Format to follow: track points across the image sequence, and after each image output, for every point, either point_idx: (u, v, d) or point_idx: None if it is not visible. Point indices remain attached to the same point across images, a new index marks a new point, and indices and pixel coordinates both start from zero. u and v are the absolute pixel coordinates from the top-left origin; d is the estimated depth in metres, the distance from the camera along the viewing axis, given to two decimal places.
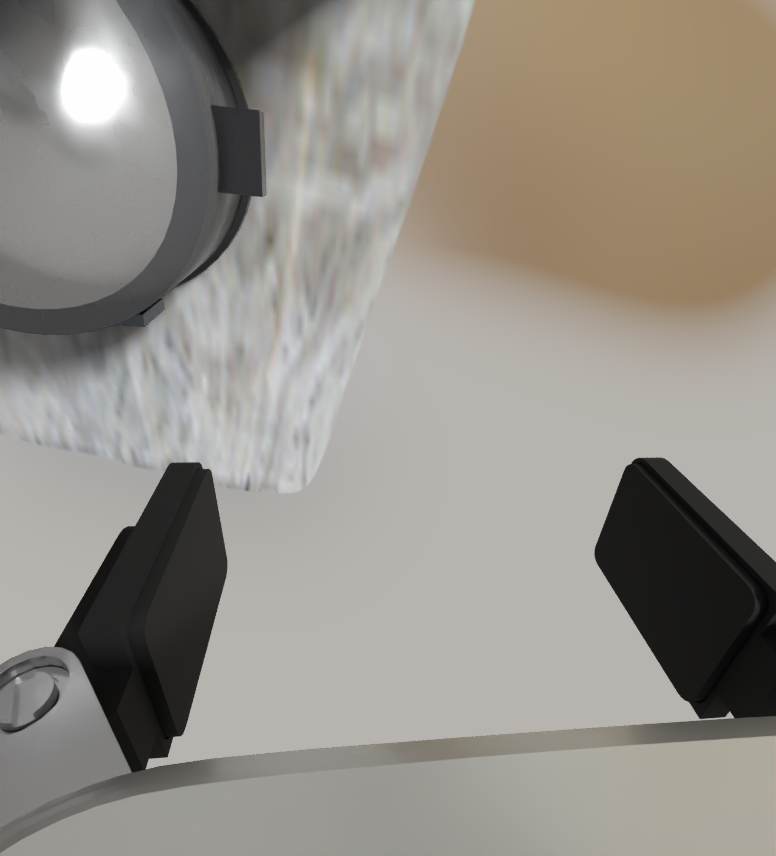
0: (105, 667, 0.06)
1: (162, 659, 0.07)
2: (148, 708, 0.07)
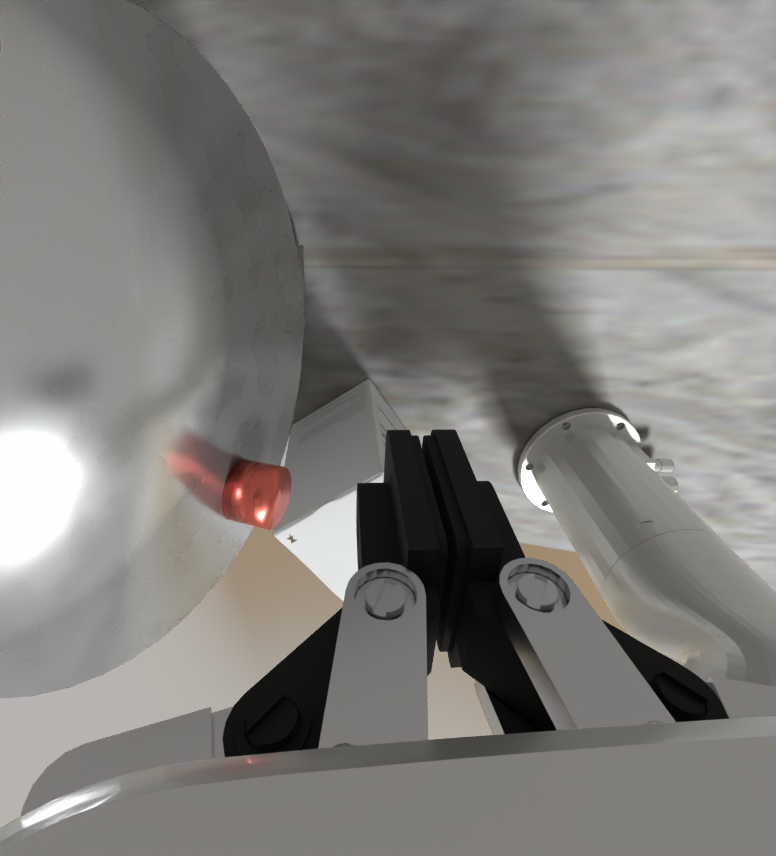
0: None
1: None
2: None
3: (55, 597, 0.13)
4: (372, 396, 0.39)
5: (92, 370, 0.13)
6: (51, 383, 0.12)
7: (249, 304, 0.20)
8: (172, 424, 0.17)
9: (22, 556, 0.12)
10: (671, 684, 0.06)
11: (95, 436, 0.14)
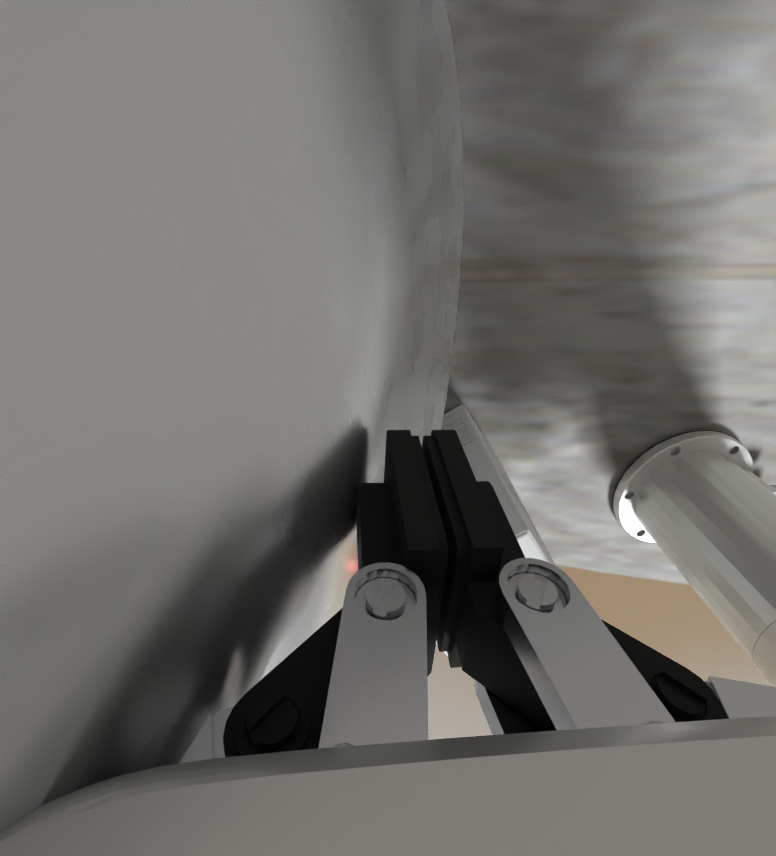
0: None
1: None
2: None
3: None
4: (474, 426, 0.35)
5: (324, 493, 0.09)
6: (291, 533, 0.07)
7: (429, 350, 0.16)
8: None
9: None
10: (671, 684, 0.06)
11: (316, 584, 0.09)
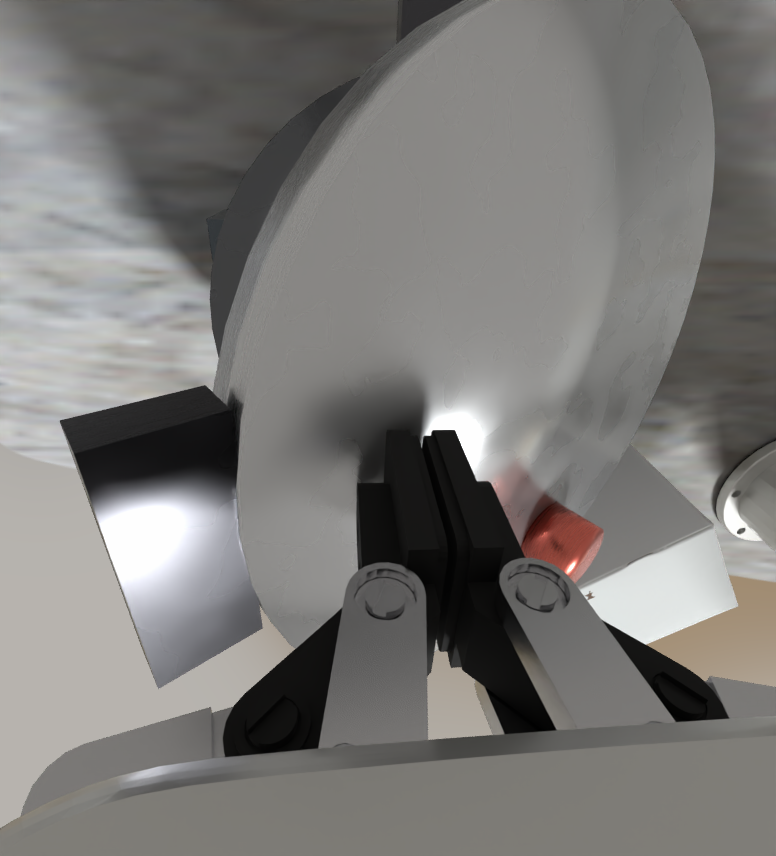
0: None
1: None
2: None
3: None
4: None
5: (479, 389, 0.13)
6: (447, 396, 0.12)
7: (627, 339, 0.18)
8: (515, 454, 0.16)
9: None
10: (671, 684, 0.06)
11: None
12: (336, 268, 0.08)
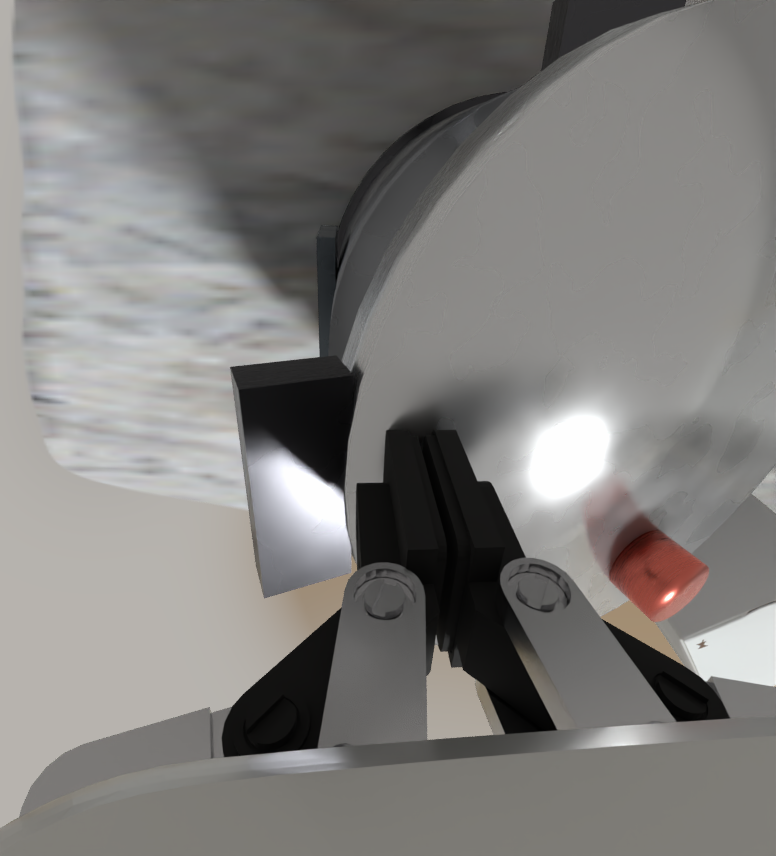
0: None
1: None
2: None
3: None
4: None
5: (581, 393, 0.13)
6: (547, 395, 0.13)
7: (763, 367, 0.16)
8: (615, 467, 0.16)
9: None
10: (672, 684, 0.06)
11: (552, 453, 0.14)
12: (456, 265, 0.10)
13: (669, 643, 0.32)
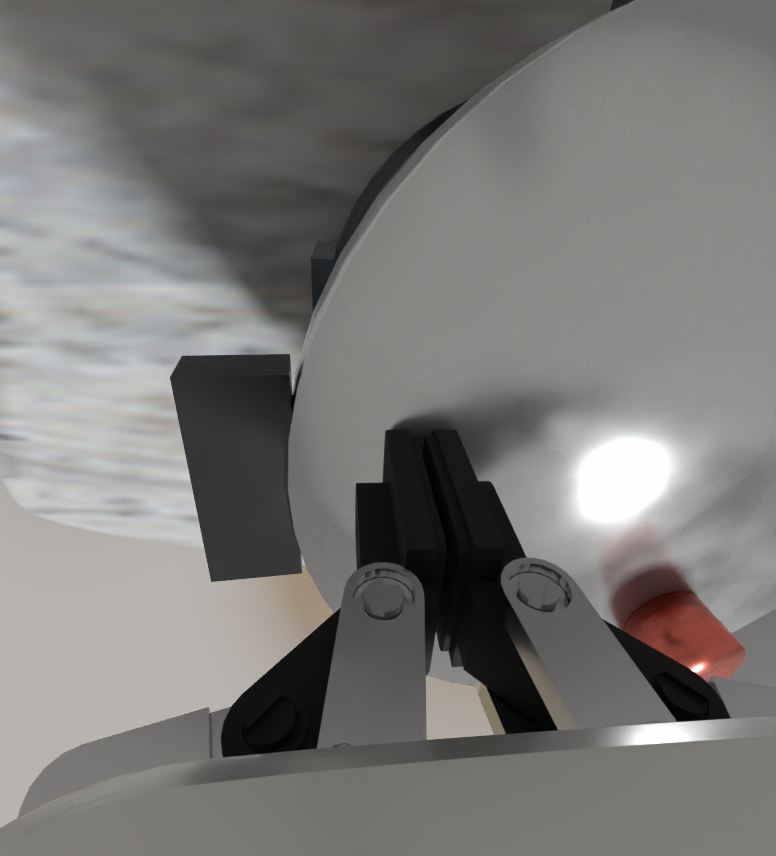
0: None
1: None
2: None
3: None
4: None
5: (568, 421, 0.12)
6: (522, 418, 0.11)
7: None
8: (621, 511, 0.14)
9: None
10: (672, 684, 0.06)
11: (533, 483, 0.13)
12: (395, 269, 0.09)
13: None
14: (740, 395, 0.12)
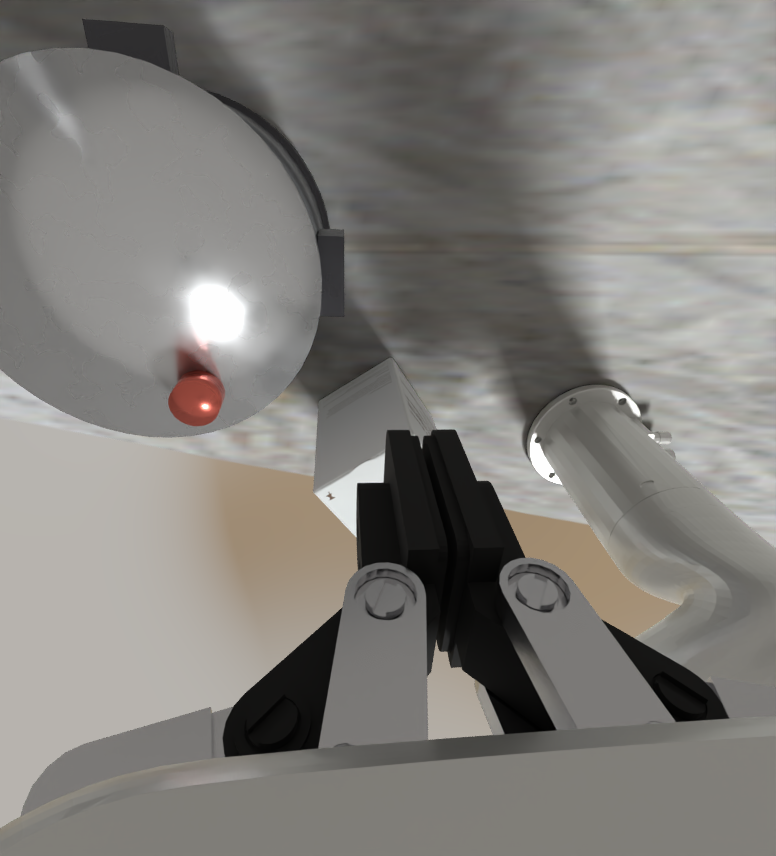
0: None
1: None
2: None
3: (33, 349, 0.28)
4: (396, 372, 0.43)
5: (62, 250, 0.25)
6: (36, 246, 0.25)
7: (224, 259, 0.27)
8: (125, 308, 0.27)
9: (15, 317, 0.27)
10: (671, 684, 0.06)
11: (62, 285, 0.26)
12: None
13: None
14: (152, 242, 0.26)
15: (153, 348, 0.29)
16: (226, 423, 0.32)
